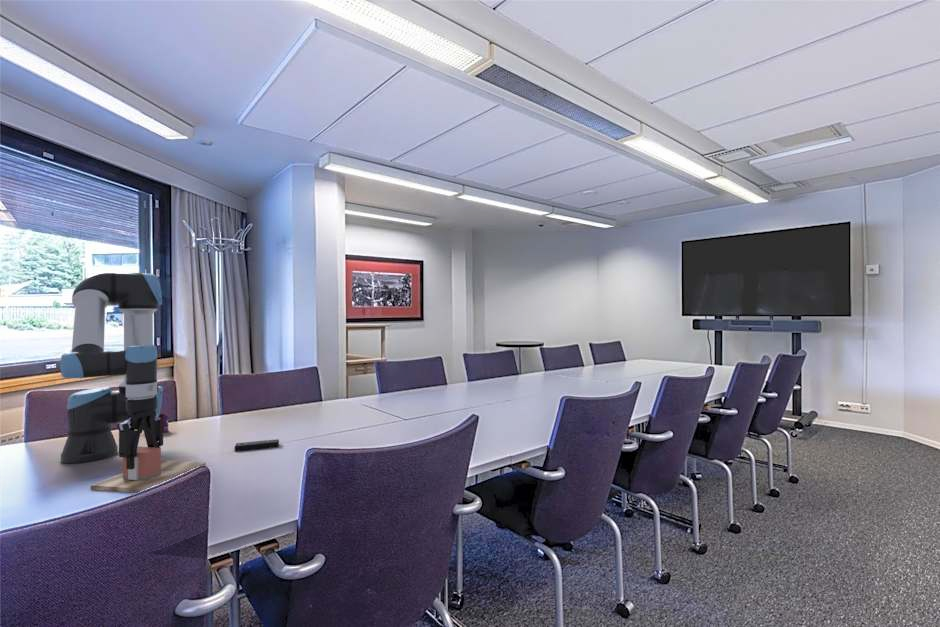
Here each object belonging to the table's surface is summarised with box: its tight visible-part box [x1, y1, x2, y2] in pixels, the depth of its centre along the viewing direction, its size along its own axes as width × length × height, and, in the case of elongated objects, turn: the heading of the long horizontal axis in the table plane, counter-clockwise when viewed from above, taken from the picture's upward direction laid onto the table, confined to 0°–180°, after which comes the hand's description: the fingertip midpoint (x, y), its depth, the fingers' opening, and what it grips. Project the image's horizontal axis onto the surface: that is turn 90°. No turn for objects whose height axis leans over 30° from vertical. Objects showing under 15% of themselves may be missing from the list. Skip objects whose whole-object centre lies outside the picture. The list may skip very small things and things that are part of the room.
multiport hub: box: [234, 439, 280, 452], centre depth 164 cm, size 4×14×2 cm, turn 110°
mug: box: [163, 414, 169, 434], centre depth 187 cm, size 7×10×7 cm
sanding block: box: [122, 446, 162, 481], centre depth 132 cm, size 8×5×8 cm, turn 80°
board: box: [90, 459, 207, 494], centre depth 135 cm, size 18×22×1 cm
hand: (142, 475), depth 132 cm, fingers closed on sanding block, 5 cm apart
